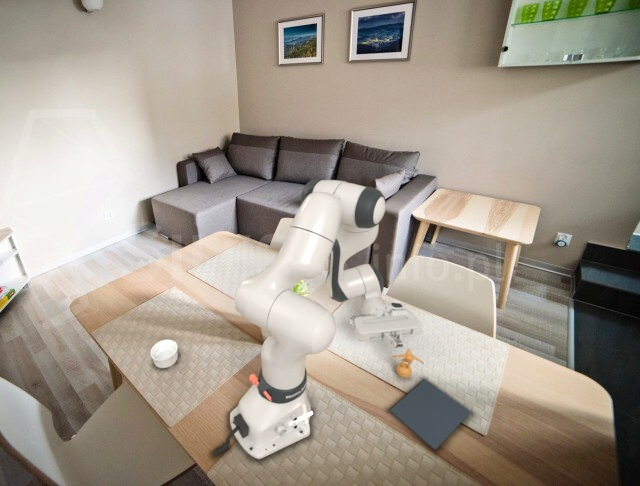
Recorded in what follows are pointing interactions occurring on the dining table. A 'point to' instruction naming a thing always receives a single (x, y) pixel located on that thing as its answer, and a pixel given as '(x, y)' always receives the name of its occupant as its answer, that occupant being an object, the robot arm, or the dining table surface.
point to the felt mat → (430, 413)
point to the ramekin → (164, 353)
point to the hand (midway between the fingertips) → (399, 346)
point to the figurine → (405, 368)
